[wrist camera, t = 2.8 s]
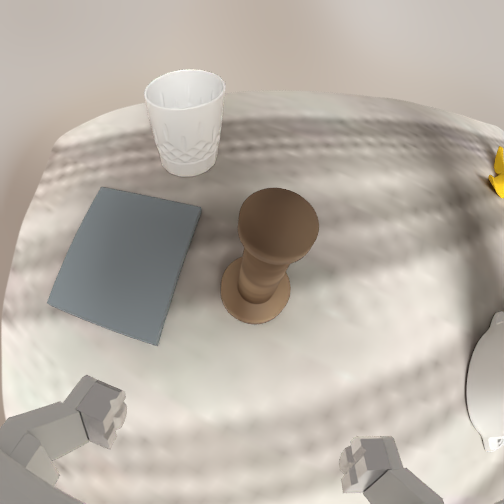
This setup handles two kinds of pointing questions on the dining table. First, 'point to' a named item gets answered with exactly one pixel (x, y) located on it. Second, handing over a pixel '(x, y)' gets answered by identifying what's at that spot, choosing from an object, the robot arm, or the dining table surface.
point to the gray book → (126, 263)
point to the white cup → (186, 119)
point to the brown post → (267, 253)
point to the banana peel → (500, 183)
